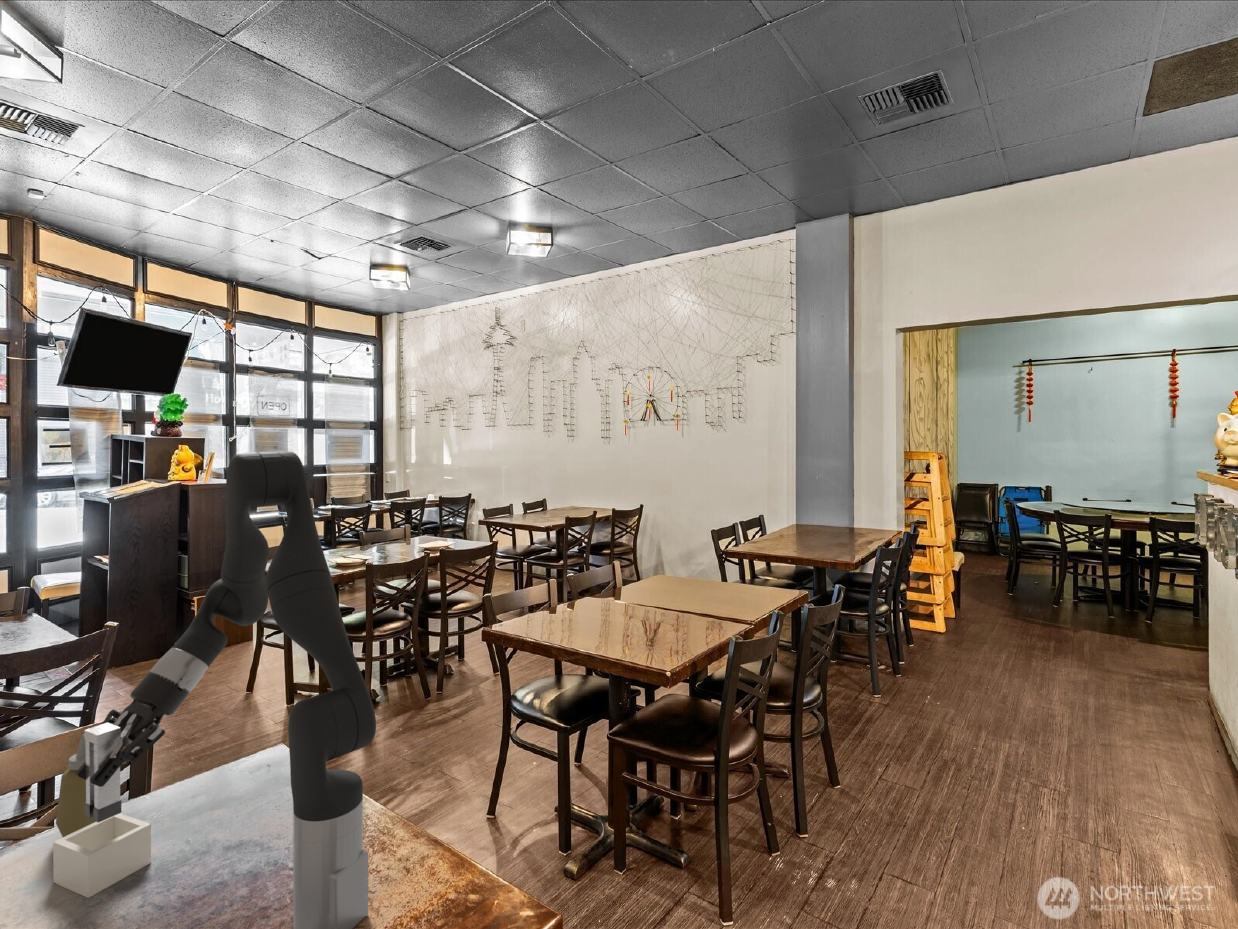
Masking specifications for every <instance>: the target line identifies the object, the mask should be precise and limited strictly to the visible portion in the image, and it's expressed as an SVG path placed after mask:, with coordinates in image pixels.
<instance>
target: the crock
mask: <svg viewBox="0 0 1238 929" xmlns="http://www.w3.org/2000/svg"><path fill="white" fill-rule="evenodd" d="M52 843H53V844H52V847H53V848H52V850H53V852H52V853H53V854H52V855H53V858H52V859H53V862H52V863H53V864H52V865H53V866H52V867H53V869H52V870H53V876H52V877H53V883H54V884H55V883H56V884H55V885H58V886H60V887H62V888H64V889H67V890H69V891H71V892H74V893H76V894H78V895H81V896H83V897H85V898H88V899H89V898H91V897H92V896H95V895H96V894H98V893H100V892H101V891H103V890H105V889H107V888H109V887H111V886H113V885H114V884H116V883H118V882H119V881H121V880H123V879H125V878H126V877H128V876H130V875H132V874H134V873H135V872H137V871H139V870H141V869H143V868H144V867H146V866H147V865H149V864H151V863H152V824H151V823H149V822H147V821H143V820H141V819H138V818H135V817H132V816H129V815H126V814H123V813H122V812H121V813H119V814H117V815H115V816H112V817H110V818H108V819H106V820H103V821H101V822H99V823H98V822H95V823H93V824H90V825H88V826H86V827H84V828H82V829H80V830H78V831H76V832H73V833H71V834H69V835H67V836H65V837H62V838H59V839H56V840H54V841H53V842H52Z"/></svg>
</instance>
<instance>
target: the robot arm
mask: <svg viewBox="0 0 1238 929" xmlns="http://www.w3.org/2000/svg"><path fill="white" fill-rule="evenodd" d="M226 471H227V472H226V478H225V479H226V481H225V484H226V485H225V529H226V530H225V532H226V534H225V535H226V536H225V538H226V541H225V549H224V554H223V559H222V563H221V564H222V565H221V570H220V579H218V580H216V581H215V582H213V583H212V584H211V586H210V587H209V588H208V590H207V591H206V593H205V595H204V598H203V599H202V603H201V604H200V607H199V609H198V610H197V613H196V615H195V616H194V618H193V619H192V622H191V623H190V624H189V626H188V628H187V629H186V630H185V632H184V633H183V634H182V635H181V636H180V638H179V639H178V640H177V641H176V642H175V643H174V645H172V647H171V648H170V649H169V650H168V651H166V652H165V654H164V655H163V656H162V657H160V659H158V661H157V662H156V663H155V664H154V666H152V668H151V669H150V670H148V672H147V674H146V675H145V676H144V677H143V678H142V679H141V681H140V682H139V683H138V684H137V685H136V686H135V688H134V689H133V690H132V691H131V693H130V694H129V695H130V698H131V699H133V700H132V702H131V703H130V704H129V705H128V706H126V707H125V708H123V710H122V711H117V710H116V709H112V710H110V711H109V712H108V714H107V716H106V717H105V718H104V720H103V722H102V724H105V723H110V724H113V725H115V726H118V727H121V737H120V739H119V740H118V745H117V747H116V748H115V749H114V750H113V752H112V754H111V755H110V758H111V759H109V758H107V760H106V761H105V762H104V763H103V764H102V766H101V767H100V768H99V769H98V770H97V771H96V773H95V774H94V775H93V776H92V777H91V779H90V783H92V784H95V785H97V786H99V787H102V786H104V785H105V784H106V782H107V781H108V780H109V779H110V778H111V777H112V775H113V774H114V773H115V772H116V770H117V769H118V768H119V767H120V768H121V766H122V765H126V763H127V762H130V763H132V764H133V763H135V762H136V761H138V760H139V758H141V757H142V756H143V755H144V754H145V753H146V752H147V751H148V750H149V749H151V747H153V746H154V745H155V744H156V743H157V742H158V741H159V740H160V739H162V737H163V736H164V735H165V734H166V730H165V729H163V728H162V727H160V723H161V721H162V719H163V717H165V716H168V717H170V716H172V715H174V713H175V712H176V711H177V710H178V709H179V707H180V706H181V705H182V704H183V702H185V700H186V699H187V697H189V695H190V694H191V692H192V691H193V690H194V688H195V687H196V686H197V685H198V684H199V682H200V680H201V679H202V678H203V677H204V675H205V673H206V672H207V670H208V669H209V667H210V666H211V665H212V664H213V662H214V661H215V659H217V657H218V656H219V655H220V653H221V652H222V651H223V650H224V649H225V647H226V646H227V644H228V641H229V640H228V636H227V635H226V634H225V633H224V632H223V631H221V630H220V628H218V627H217V626H215V624H214V620H215V618H216V617H217V616H218V617H221V618H223V619H225V620H228V621H230V622H232V623H234V624H236V625H238V626H243V627H247V626H251V625H253V624H255V623H257V622H259V620H261V618H262V617H263V616H264V614H265V613H266V611H267V608H268V605H269V604H270V608H271V609H270V610H271V613H272V617H273V620H274V622H275V624H277V626H278V627H279V628H280V630H281V631H282V632H283V633H284V634H285V635H287V637H289V638H290V640H292V641H293V642H294V643H295V644H297V645H298V646H299V647H300V648H302V649H303V650H304V651H306V653H307V654H309V655H310V656H311V657H312V658H313V659H314V660H315V661H316V663H318V665H319V666H320V667H321V670H322V672H324V674H325V676H326V679H327V681H328V683H329V686H330V688H331V691H328V692H324V693H321V694H317V695H314V696H311V697H310V696H309V697H307V698H305V699H301V700H299V701H297V702H296V703H295V704H294V705H293V707H292V708H291V710H290V713H289V716H288V723H287V724H288V726H287V727H288V728H287V729H288V730H287V734H288V736H287V738H288V749H289V750H288V752H289V767H290V787H291V794H292V796H291V797H292V802H293V803H292V806H293V807H292V808H293V809H292V810H293V815H292V816H293V820H292V821H293V823H292V825H293V828H292V829H293V833H292V838H293V839H292V840H293V841H292V842H293V843H292V846H293V847H292V850H293V851H292V852H293V853H292V854H293V855H292V857H293V859H292V866H293V867H292V868H293V869H292V877H293V878H292V887H293V888H292V906H293V909H292V912H293V913H292V923H293V924H292V925H293V926H292V929H354V928H355V927H356V926H357V925H358V924H359V923H360V922H361V921H363V920H364V919H365V918H366V917H367V916H368V915H369V853H368V851H367V850H364V849H363V846H364V845H363V842H364V841H363V839H364V837H363V836H364V835H363V834H364V833H363V832H364V830H363V826H364V823H363V820H364V818H363V817H364V814H363V812H364V809H363V808H364V799H363V798H364V784H363V780H362V777H361V776H360V775H359V774H358V773H357V772H354V771H351V770H347V769H340V768H339V769H328V768H327V762H329V761H331V760H334V759H337V758H341V757H342V756H344V755H347V754H350V753H353V752H355V751H358V750H361V749H362V748H365V747H367V746H369V745H370V744H371V743H372V742H373V741H374V738H375V736H376V732H377V721H376V720H377V719H376V712H375V708H374V704H373V701H372V697H371V695H370V692H369V690H368V687H367V684H366V682H365V679H364V676H363V674H362V672H361V669H360V666H359V664H358V661H357V659H356V656H355V653H354V651H353V648H352V646H351V643H350V640H349V637H348V633H347V630H346V627H345V623H344V620H343V616H342V613H341V609H340V604H339V601H338V600H339V599H338V597H337V593H336V589H335V584H334V582H333V578H332V575H331V572H330V568H329V565H328V563H327V562H328V561H327V560H326V556H325V553H324V550H323V547H322V543H321V540H320V537H319V534H318V529H317V525H316V520H315V516H314V515H315V514H314V510H313V505H312V499H311V494H310V489H309V484H308V480H307V475H306V471H305V467H304V464H303V462H302V460H301V458H300V457H299V455H297V453H295V452H293V451H286V450H278V451H277V450H276V451H253V452H241V453H237V454H235V455H234V456H233V457H232V458H231V459H230V461H229V464H228V468H227V470H226ZM272 506H273V507H275V506H283V507H284V508H285V511H286V518H287V521H286V527H285V531H284V533H283V536H282V539H281V541H280V543H279V545H278V546H277V549H276V551H275V553H274V555H273V558H272V560H271V562H270V563H269V567H268V568H267V565H268V560H269V556H270V548H269V543H268V540H267V538H266V537H265V535H264V533H263V532H262V531H261V530H260V529H259V527H257V525H256V524H255V523H254V522H253V520H252V518H251V516H250V515H249V510H250V509H251V508H263V507H272ZM267 569H268V570H267ZM266 570H267V572H266ZM265 572H266V575H265ZM102 724H101V725H102ZM124 747H125V748H124ZM76 776H78V777H80V778H82V779H85V780H86V761H85V762H84V764H83V765H82V766H81V767H80V768H79V770H78V771H77V772H76Z"/></svg>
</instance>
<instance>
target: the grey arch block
mask: <svg viewBox="0 0 1238 929" xmlns="http://www.w3.org/2000/svg"><path fill="white" fill-rule="evenodd" d="M83 732H84V739H85V740H86V804H85V816H86V817H88V818H92V817H94V821H96V822H98V823H99V822H101V821H103V820H106V819H108V818H110V817H112V816H115V815H117V814H119V813H121V814H122V799H121V766H120V767H119V768H118V769H117V770H116V772H115V773H114V774H113V775H112V777H111V778H110V779H109V780H108V781H107V782H106V784H105V785H104V786H102V787H99V786H97V785H95V784H92V783H90V779H91V777H92V776H93V775H94V774H95V773H96V771H97V770H98V769H99V768H100V767H101V766H102V764H103V763H104V762H105V761H106V760H107V758H109V759H111V758H110V755H111V754H112V752H113V750H114V749H115V748H116V747H117V745H118V740H119V739H120V737H121V727H118V726H115V725H113V724H110V723H105V724H99V725H96V726H93V727H90V728H87V729H84V731H83Z"/></svg>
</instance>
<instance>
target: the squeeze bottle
mask: <svg viewBox="0 0 1238 929" xmlns="http://www.w3.org/2000/svg"><path fill="white" fill-rule="evenodd" d="M85 761H86V740H85V739H84V734H82V735H81V737H80V741H79V745H78V748H77V751H76V754H73V755H71V756H70V757H69V759H68V768H67V769H66V770H65V771H64V772H63V773H62V775H61V779H60V788H59V793H58V795H59V796H58V802H57V811H56V817H55V818H56V819H55V824H56V827H57V828H58V831H59V832H60V834H61V837H62V838H63V837H65V836H67V835H69V834H71V833H73V832H76V831H78V830H80V829H82V828H84V827H86V826H88V825H90V824H93V823H95V822H96V821H94V817H92V818H88V817H86V816H85V804H86V780H85V779H82V778H80V777H78V776H76V772H77V771H78V770H79V768H80V767H81V766H82V765H83V764H84V762H85Z"/></svg>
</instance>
